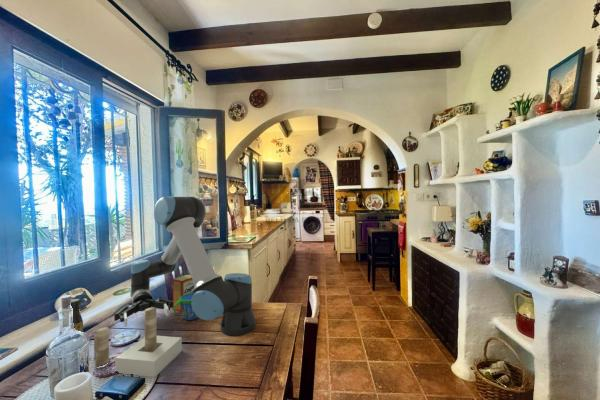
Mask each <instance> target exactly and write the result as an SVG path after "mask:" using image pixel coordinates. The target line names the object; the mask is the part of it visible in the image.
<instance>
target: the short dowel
mask: <svg viewBox="0 0 600 400" xmlns="http://www.w3.org/2000/svg"><path fill="white" fill-rule="evenodd" d="M93 340H94V341H93V360H95V359H96V334H94V335H93Z"/></svg>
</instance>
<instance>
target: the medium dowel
mask: <svg viewBox="0 0 600 400" xmlns="http://www.w3.org/2000/svg"><path fill="white" fill-rule="evenodd" d="M109 330H110V328H109V327H108V326H107V327H106V326H104V327H100V328H99V329H96V330H95V335H96V360H95V368H96V367H99V366H103V365H105V364H107V363H108V362H109V363H110V361H109V360H110V356H109V355H110V348H109V347H110V345H109V344H110V340H109V339H110V333H109V332H110V331H109Z"/></svg>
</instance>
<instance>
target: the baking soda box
mask: <svg viewBox="0 0 600 400" xmlns="http://www.w3.org/2000/svg"><path fill="white" fill-rule="evenodd" d="M194 286H195V284H194V281H193V279H192V277H191V274H185V275H180V276H178V277H174V278H173V279H172V301H173V308H172V311H174V305H175V303H176V302H177V301H178V300H179V299H180V297H181V296H182V295H185V294H188V293H193V289H194ZM175 309H176V312H180V313H182V307H181V304H180V302H179V303H178V304H177V305H176V308H175Z"/></svg>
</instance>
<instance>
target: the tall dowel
mask: <svg viewBox="0 0 600 400" xmlns="http://www.w3.org/2000/svg"><path fill="white" fill-rule="evenodd" d="M157 336H158V335H157V308H155V307H152V308H148V309H146V310H145V311H144V337H145V352H153V351H154V350H156V349H157Z"/></svg>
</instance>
